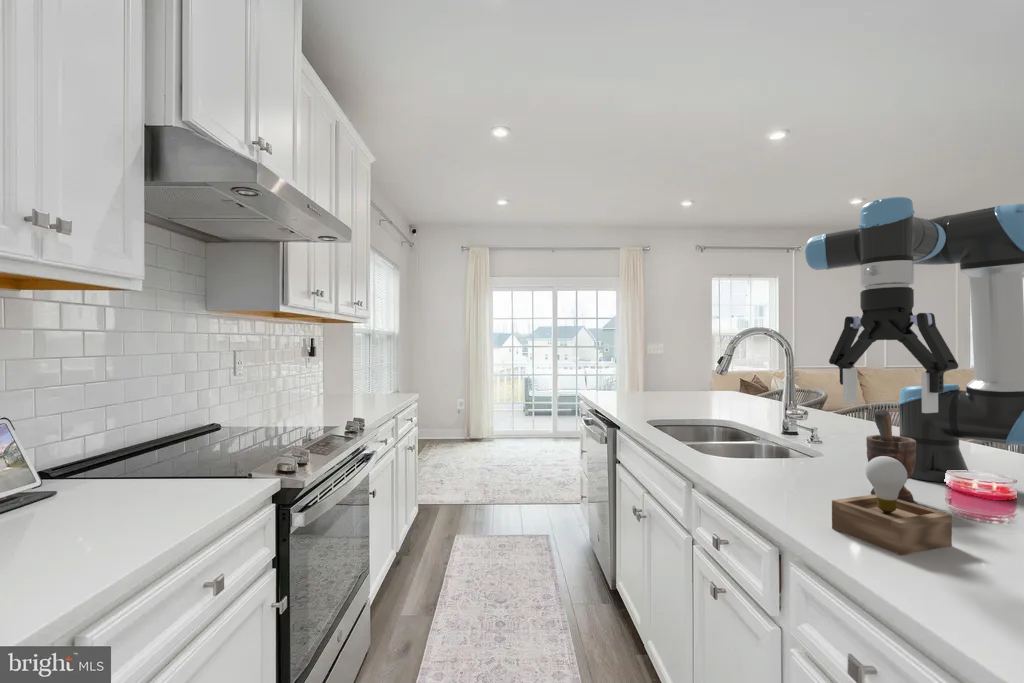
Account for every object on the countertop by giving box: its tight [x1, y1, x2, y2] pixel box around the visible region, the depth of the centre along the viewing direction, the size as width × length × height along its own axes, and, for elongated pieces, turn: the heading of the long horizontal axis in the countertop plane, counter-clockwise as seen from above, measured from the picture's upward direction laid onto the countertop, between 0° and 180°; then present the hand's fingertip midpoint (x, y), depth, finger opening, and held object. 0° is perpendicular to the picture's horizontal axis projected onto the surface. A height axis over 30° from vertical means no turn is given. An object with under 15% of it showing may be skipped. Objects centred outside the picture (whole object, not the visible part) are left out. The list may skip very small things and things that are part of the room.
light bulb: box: [865, 456, 908, 514], centre depth 87 cm, size 6×6×10 cm
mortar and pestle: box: [865, 409, 916, 503], centre depth 106 cm, size 12×9×20 cm
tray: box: [831, 494, 953, 556], centre depth 86 cm, size 12×12×5 cm
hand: (887, 407), depth 87 cm, fingers open, 13 cm apart
